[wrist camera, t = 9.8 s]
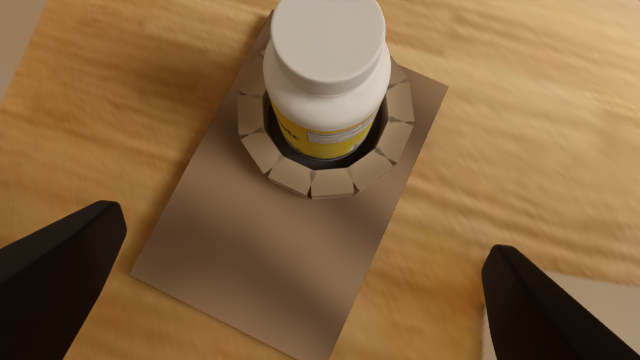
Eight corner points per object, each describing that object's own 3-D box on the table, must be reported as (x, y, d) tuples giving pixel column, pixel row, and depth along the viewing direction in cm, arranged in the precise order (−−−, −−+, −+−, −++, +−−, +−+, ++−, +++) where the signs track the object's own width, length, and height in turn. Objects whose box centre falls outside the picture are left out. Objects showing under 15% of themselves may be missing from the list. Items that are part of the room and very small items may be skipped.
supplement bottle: (273, 83, 23) (241, -35, 13) (361, 71, 23) (393, -55, 13) (285, 170, 22) (259, 111, 12) (377, 156, 22) (423, 88, 12)
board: (322, 366, 21) (323, 382, 19) (137, 273, 22) (114, 276, 20) (443, 92, 24) (457, 75, 21) (274, 18, 25) (269, -7, 22)
